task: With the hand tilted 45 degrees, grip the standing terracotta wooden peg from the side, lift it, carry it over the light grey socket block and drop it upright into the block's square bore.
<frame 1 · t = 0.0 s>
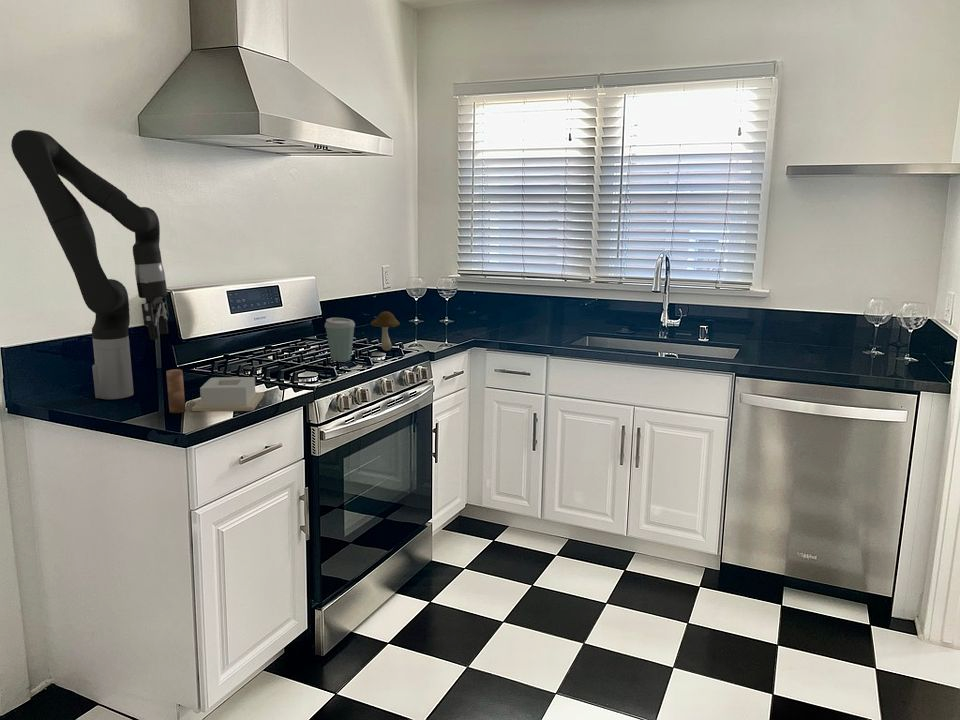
hand: (159, 336, 214), 17 cm above the table, tool pointing down, fingers open, 8 cm apart
disposable coffee cup: (341, 361, 265), on the table
peg: (177, 411, 202), on the table
socket block: (229, 403, 210), on the table
mushroom: (385, 351, 284), on the table
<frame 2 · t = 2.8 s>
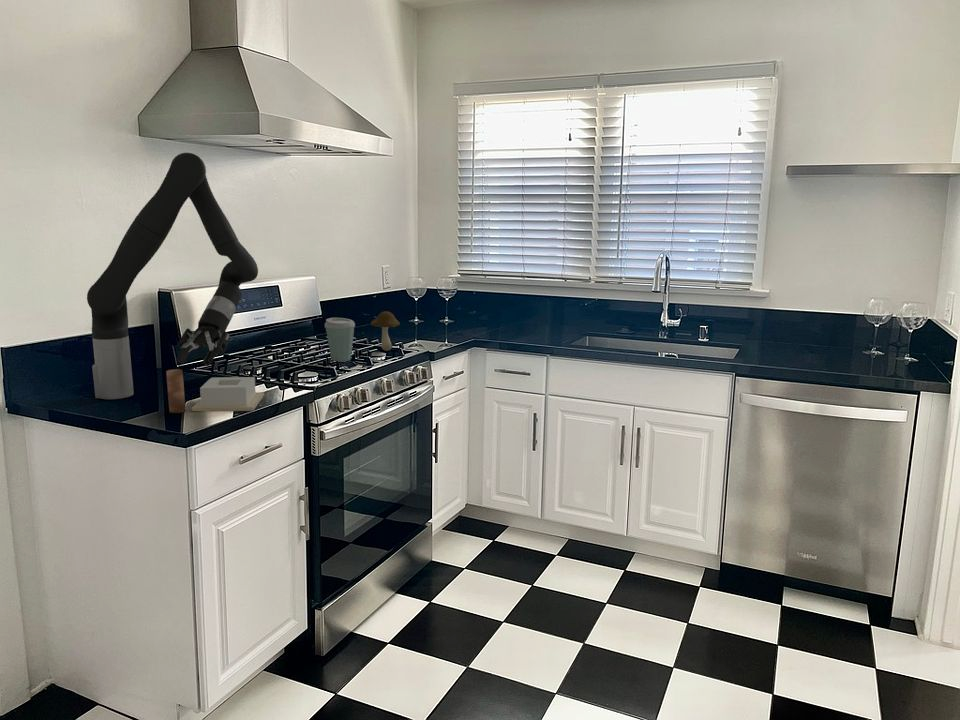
hand: (192, 363, 206), 12 cm above the table, tool tilted 45°, fingers open, 8 cm apart
nothing on the table moved.
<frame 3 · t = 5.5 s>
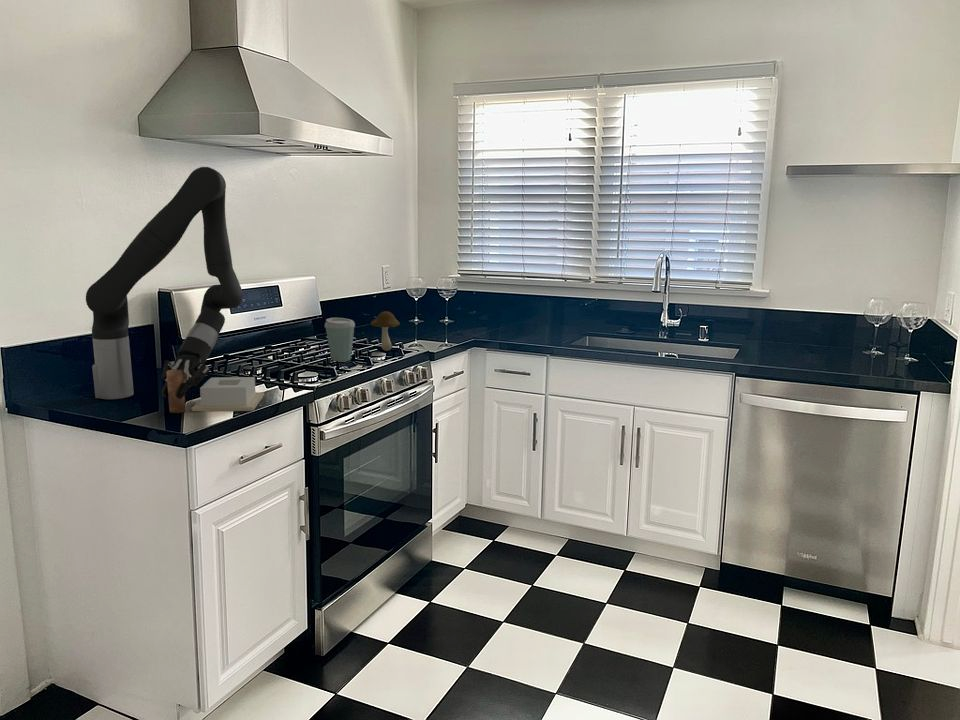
hand: (171, 396, 199), 5 cm above the table, tool tilted 45°, fingers closed on peg, 4 cm apart
peg: (177, 410, 202), on the table, touching gripper
everything else where it was.
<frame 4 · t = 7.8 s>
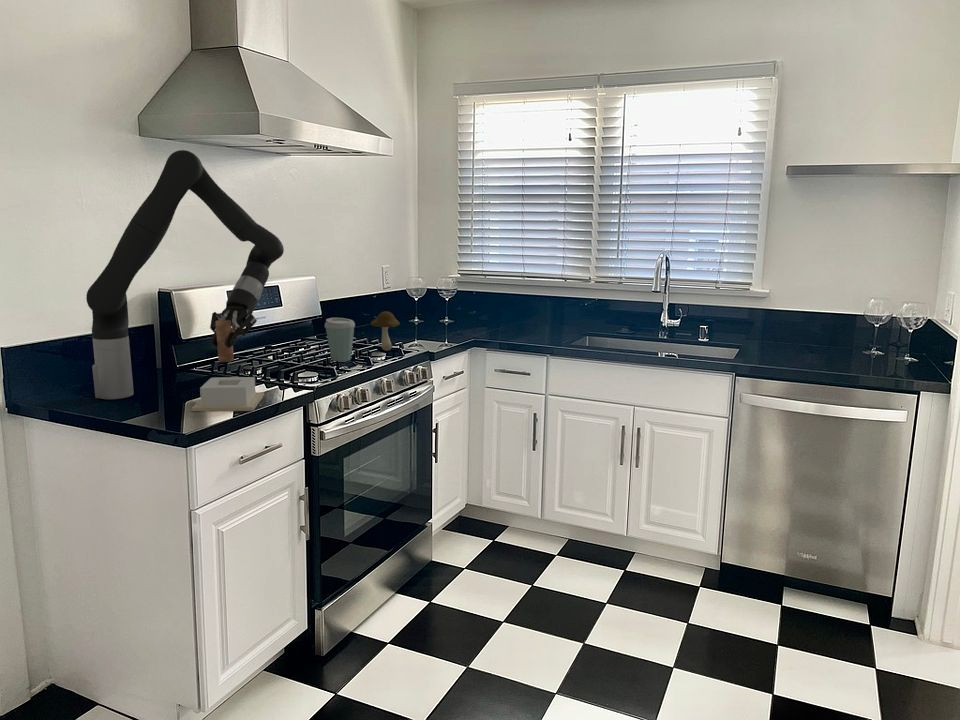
hand: (220, 345, 204), 17 cm above the table, tool tilted 45°, fingers closed on peg, 4 cm apart
peg: (226, 360, 207), point 12 cm above the table, touching gripper
everything else where it was.
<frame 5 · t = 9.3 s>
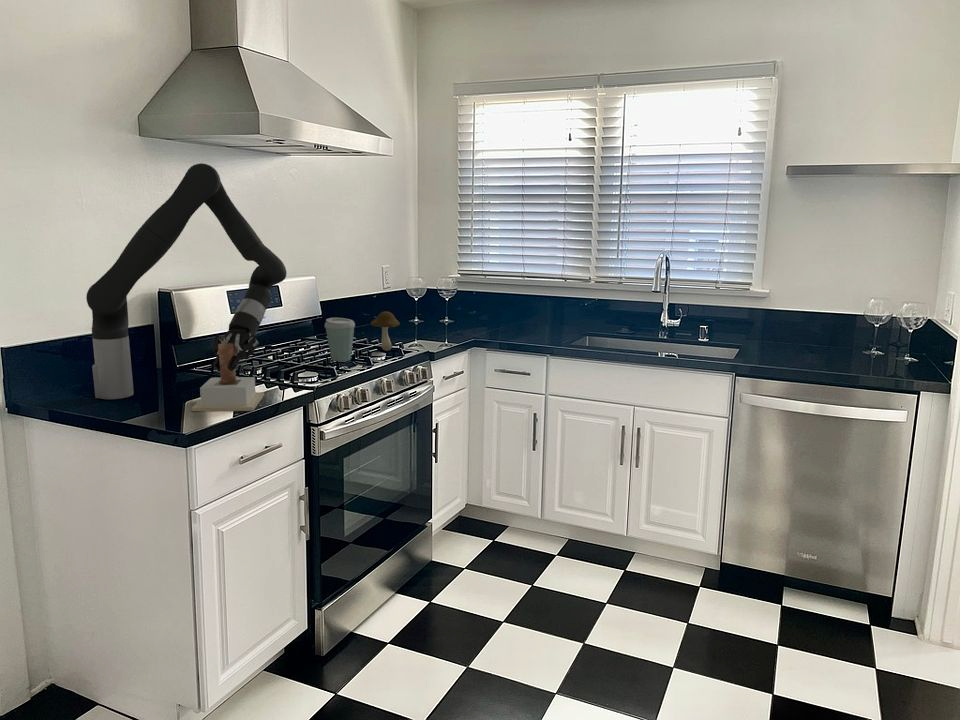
hand: (223, 368, 206), 10 cm above the table, tool tilted 45°, fingers closed on peg, 4 cm apart
peg: (228, 383, 208), point 6 cm above the table, touching gripper
everything else where it was.
when the fingers open (8 cm above the table, at t = 10.2 s): peg drops 2 cm, resting on socket block.
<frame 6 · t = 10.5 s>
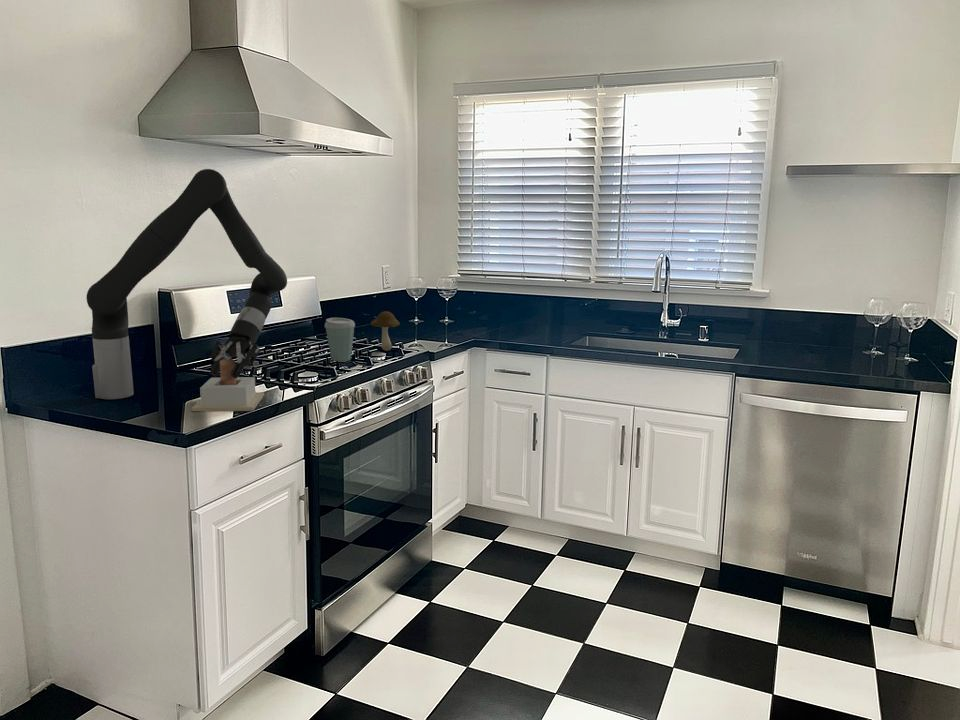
hand: (223, 375, 206), 8 cm above the table, tool tilted 45°, fingers open, 6 cm apart
peg: (229, 399, 209), point 1 cm above the table, touching socket block
everything else where it was.
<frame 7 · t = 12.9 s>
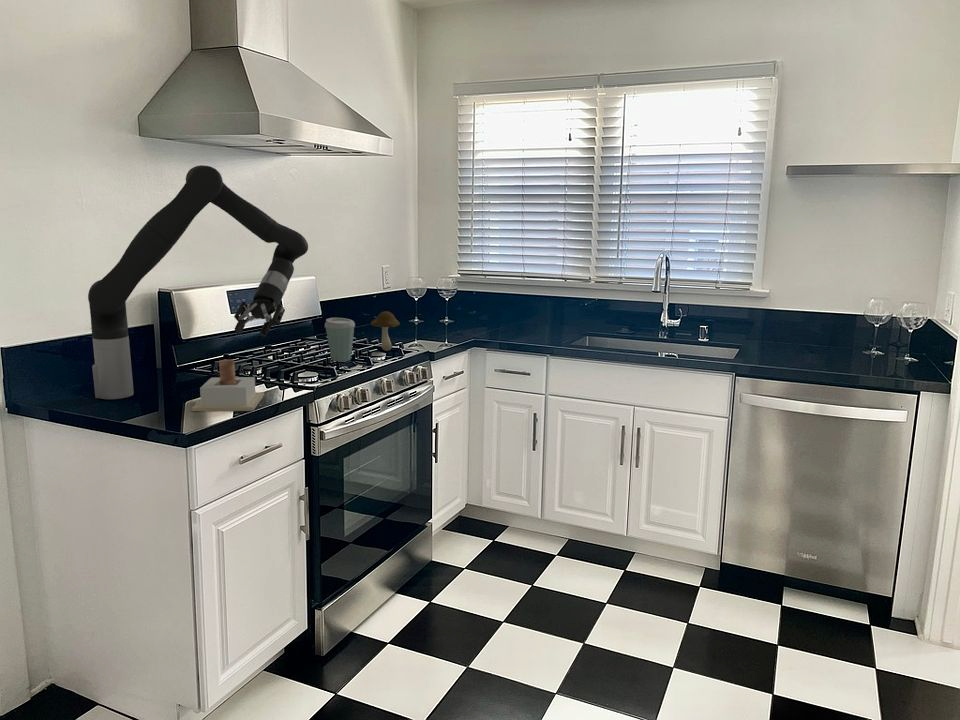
hand: (249, 333, 216), 18 cm above the table, tool tilted 45°, fingers open, 8 cm apart
nothing on the table moved.
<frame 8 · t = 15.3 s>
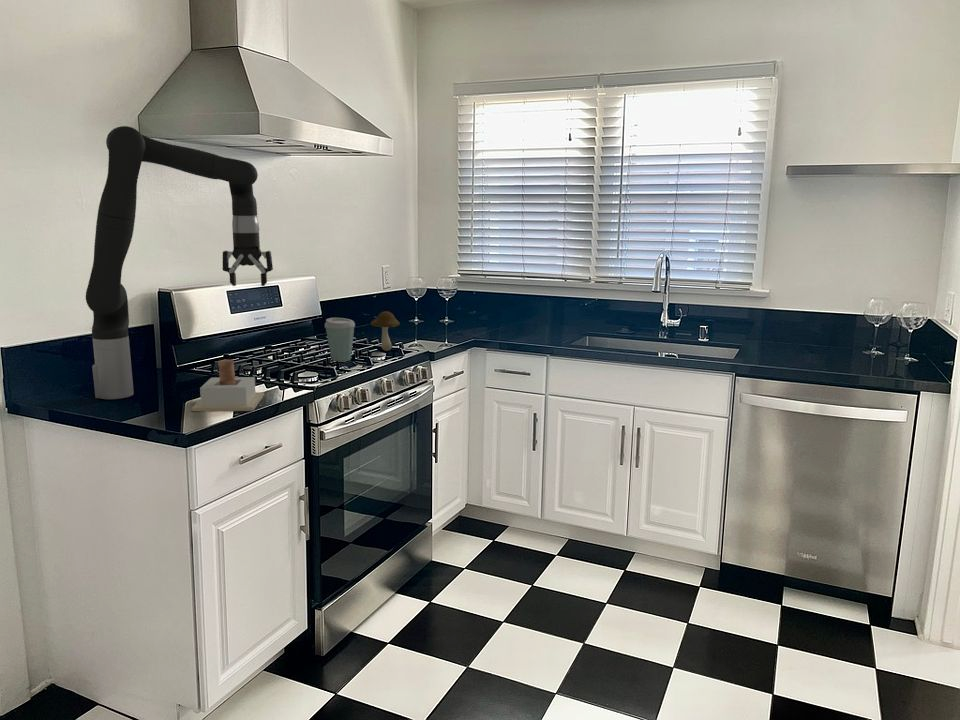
hand: (248, 285, 227), 30 cm above the table, tool pointing down, fingers open, 8 cm apart
nothing on the table moved.
at the end: peg 0.1 cm off-centre on the socket block, point 1.0 cm above the socket block's base; peg tilted 1°; the gripper is holding nothing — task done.
